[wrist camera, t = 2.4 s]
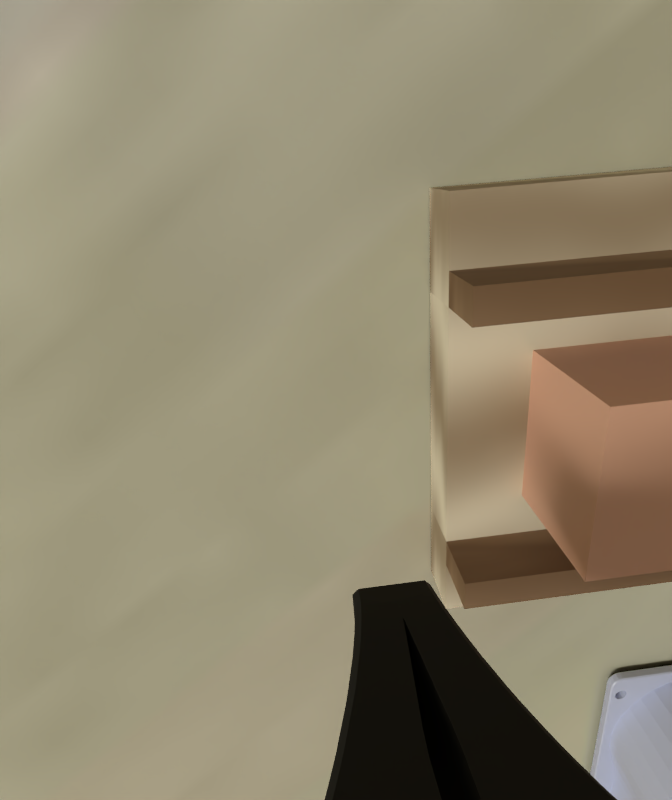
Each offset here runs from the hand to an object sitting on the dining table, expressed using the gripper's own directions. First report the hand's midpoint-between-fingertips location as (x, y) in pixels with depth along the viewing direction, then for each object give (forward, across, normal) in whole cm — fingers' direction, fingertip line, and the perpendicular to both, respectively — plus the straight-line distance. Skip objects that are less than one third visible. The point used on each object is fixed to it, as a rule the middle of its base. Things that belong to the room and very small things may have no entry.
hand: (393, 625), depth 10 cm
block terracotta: (+7, -8, 0) cm, 11 cm away
